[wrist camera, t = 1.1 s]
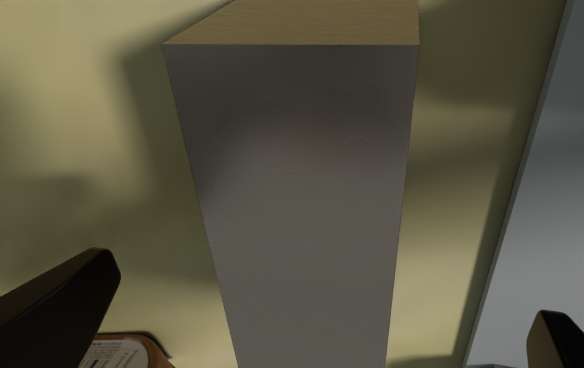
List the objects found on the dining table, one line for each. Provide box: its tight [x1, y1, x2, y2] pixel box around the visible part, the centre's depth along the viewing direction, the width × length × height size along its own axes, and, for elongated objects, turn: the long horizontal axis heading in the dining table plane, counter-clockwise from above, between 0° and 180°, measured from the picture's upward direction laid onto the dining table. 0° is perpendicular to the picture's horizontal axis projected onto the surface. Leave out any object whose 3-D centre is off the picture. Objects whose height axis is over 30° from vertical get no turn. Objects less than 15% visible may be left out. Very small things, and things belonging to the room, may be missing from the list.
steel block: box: [161, 0, 419, 368], centre depth 11 cm, size 4×10×6 cm, turn 4°
